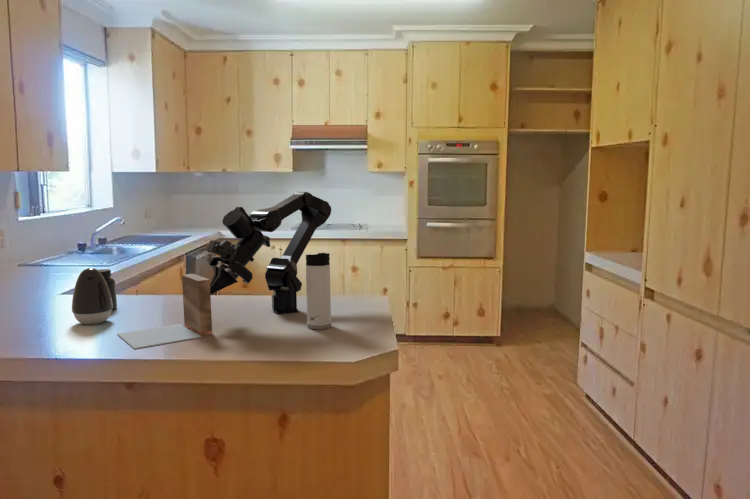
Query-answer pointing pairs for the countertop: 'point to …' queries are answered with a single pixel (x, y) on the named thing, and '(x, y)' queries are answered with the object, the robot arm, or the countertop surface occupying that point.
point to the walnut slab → (197, 304)
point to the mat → (158, 336)
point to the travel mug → (318, 291)
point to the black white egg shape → (91, 298)
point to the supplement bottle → (110, 285)
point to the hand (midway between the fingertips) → (208, 293)
